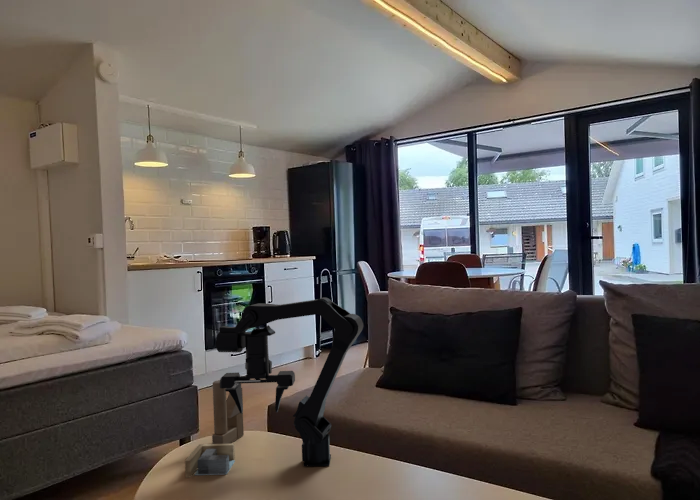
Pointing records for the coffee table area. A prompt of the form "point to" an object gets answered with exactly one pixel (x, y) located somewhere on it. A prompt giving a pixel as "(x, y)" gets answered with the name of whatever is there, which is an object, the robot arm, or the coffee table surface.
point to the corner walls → (192, 460)
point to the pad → (218, 474)
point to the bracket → (213, 463)
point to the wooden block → (226, 417)
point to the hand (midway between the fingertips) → (259, 412)
